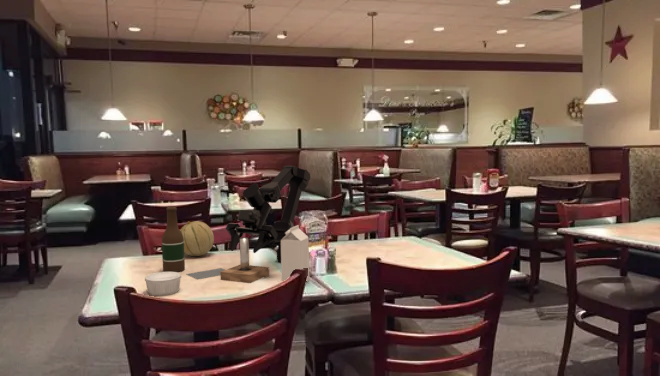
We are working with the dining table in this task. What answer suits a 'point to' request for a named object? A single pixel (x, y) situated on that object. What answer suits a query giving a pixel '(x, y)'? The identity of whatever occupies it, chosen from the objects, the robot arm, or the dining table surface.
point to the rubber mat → (206, 273)
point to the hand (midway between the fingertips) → (242, 251)
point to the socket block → (245, 274)
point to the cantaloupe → (197, 238)
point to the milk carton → (294, 252)
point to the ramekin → (163, 283)
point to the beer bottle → (172, 244)
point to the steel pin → (244, 254)
